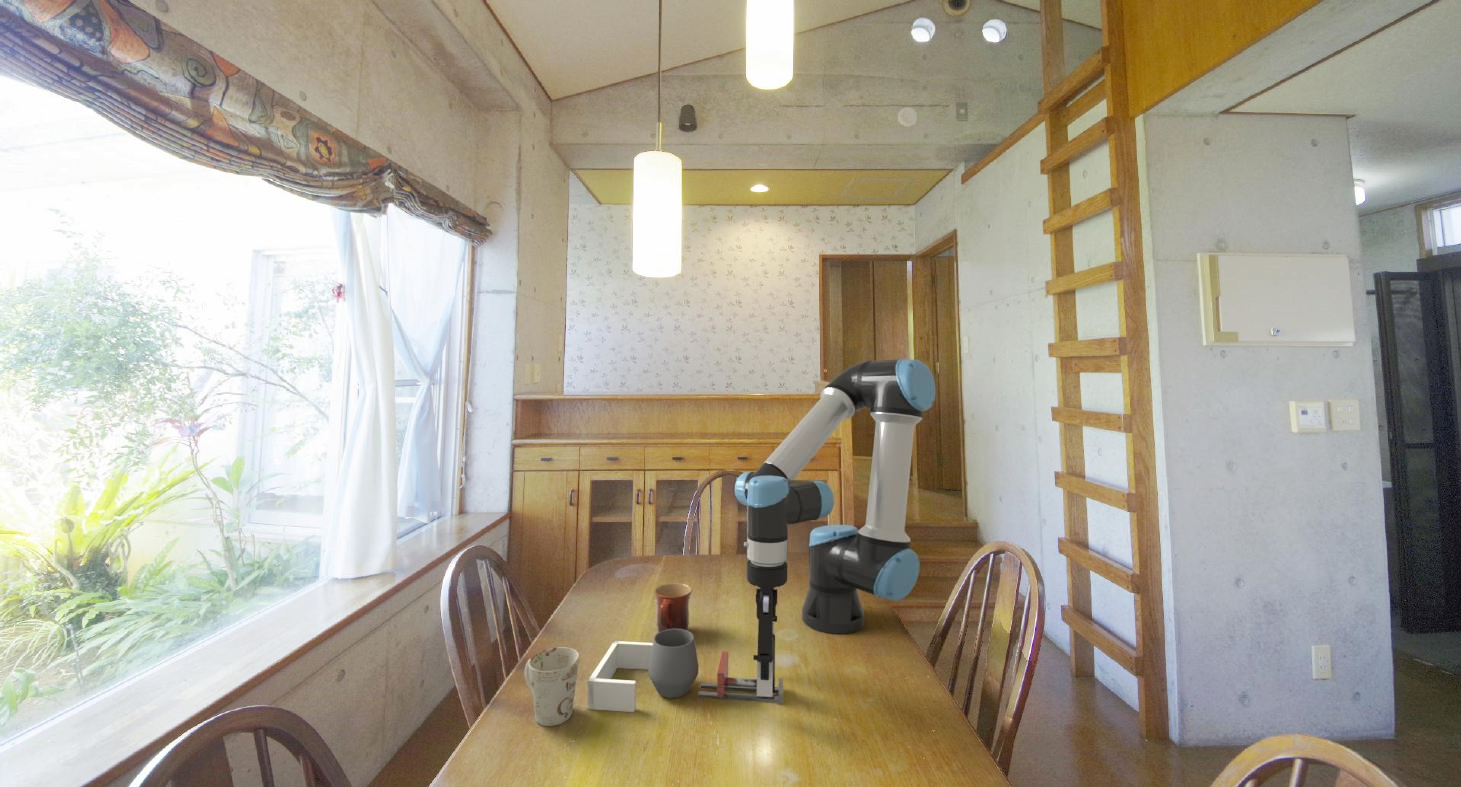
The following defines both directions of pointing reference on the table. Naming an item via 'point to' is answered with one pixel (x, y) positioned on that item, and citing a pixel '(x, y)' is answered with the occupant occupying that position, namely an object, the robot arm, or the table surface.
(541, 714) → the mug
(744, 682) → the rail slider
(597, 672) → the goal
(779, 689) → the rails
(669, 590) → the mug
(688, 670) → the cup
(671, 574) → the table surface
